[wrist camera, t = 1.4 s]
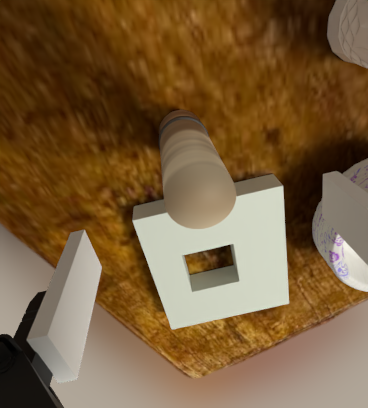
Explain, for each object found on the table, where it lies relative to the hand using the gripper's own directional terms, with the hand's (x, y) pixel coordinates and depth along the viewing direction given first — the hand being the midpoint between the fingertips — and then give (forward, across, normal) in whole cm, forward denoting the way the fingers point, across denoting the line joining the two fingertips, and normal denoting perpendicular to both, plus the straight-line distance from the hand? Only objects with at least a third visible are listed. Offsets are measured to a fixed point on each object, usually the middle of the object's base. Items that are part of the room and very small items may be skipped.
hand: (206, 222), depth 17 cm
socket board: (+16, +1, -16) cm, 23 cm away
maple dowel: (+16, 0, 0) cm, 16 cm away
